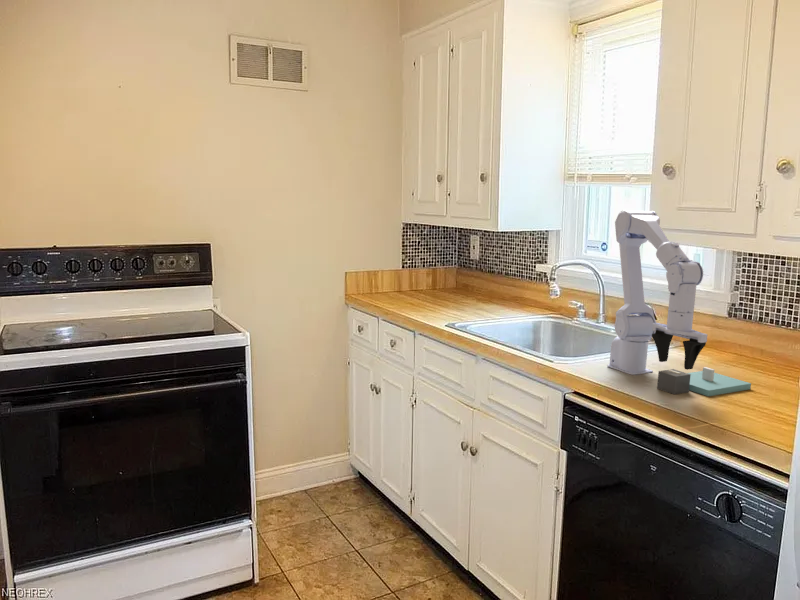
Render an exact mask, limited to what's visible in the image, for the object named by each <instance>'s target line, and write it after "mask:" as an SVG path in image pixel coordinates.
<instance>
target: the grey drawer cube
mask: <svg viewBox="0 0 800 600" xmlns="http://www.w3.org/2000/svg"><path fill="white" fill-rule="evenodd" d="M688 373H689V372H684V371H680V370H678V369H674V368H672V369H664V370H658V374H657V375H658V376H657V385H656V389H658V390H661V391H663V392H666V393H669V394H672V395H677V394H684V393H689V391H690V390H689V385H690V375H691V374H688Z"/></svg>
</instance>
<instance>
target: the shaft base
mask: <svg viewBox="0 0 800 600" xmlns="http://www.w3.org/2000/svg"><path fill="white" fill-rule="evenodd" d="M687 373H688V374H691V375H690V385H689V391H691V392H694V393H696V394H699V395H702V396H706V397H712V396H713V397H714V396H718V395H724V394H725V395H726V394H730V393H735V392H741V391H747V390H751V389H752V388H751V387H752V383H751V382H747V381H744V380H741V379H737V378H734V377H730V376H727V375H724V374H720V373H717V372H715V369H713V368H710V367H707V366H703V368H702V370H700V371H692V372H687Z"/></svg>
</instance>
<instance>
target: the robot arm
mask: <svg viewBox="0 0 800 600" xmlns="http://www.w3.org/2000/svg"><path fill="white" fill-rule="evenodd" d="M660 218H661V217H660V216H659V215H658V213H657V212H656V211H654V210H649V211H648V210H626V209H622V210H621V211H620V212H619V213H618V215H617V216H616V218H615V221H614V227H615V238H616V242H617V243H618V246H619V255H620V257H619V259H620V268H621V278H622V291H623V302H624V305H622V306H621V307H620V308H619V309H617V311H616V312H615V322H614V330H615V334H616V337H614V339H613V340H612V341H611V343H610V344H611V345H610V351H609V352H610V355H609V363H608V364H607V365H606V366H607V367H608V368H611V369H613V370H617V371H620V372H623V373H625V374H628V375H631V376H636V375H641V374H642V375H643V374H648V373H650V374H651V373H653V370H652V369H650V368H647V359H648V348H649V342H650V341H652V340H653V342H654V344H655V347H656V351H657V356H658V357H657V358H658V361H659V362H660V363H663V362H664V363H665V362H668V358H669V352H670V346H671V343H672V339H673V337H674V336H675V337H679V338H682V339H683V338H684V339H686V340H682V345H683V349H684V350H683V351H684V361H683V362H684V363H683V364H684V366H683V367H684V370H693V368H694V365H695V364H696V361H697V358H698V356H699V355H700V353H701V351H702V350H703V349H704V347H705V346H706V345H707V342H708V333H703V332H701V331H698V330H695V329H693V321H694V320H693V319H694V312H695V303H696V302H695V301H696V293H697V286H698V285H700V284H701V283H702V281H703V279H704V269H703V267H702V265H701V263H700V262H699V261H693V260H692V259H690V258H689V257H688V256H687V255H686V254H685V252H684V251H683V249H682V248H681V247H680V244H679V243H678V242H676V241H669V239H668V237H667V236H666V233H665V232H664V231H663V229H662V227H661V226H660V223H661V219H660ZM648 241H649V242H650V243H651V245H652V246H653V247H654V248H655V249H656V251H655V252H656V253H655V256H656V259H657V260H658V261H659V262H660V263H661V265H662V266H663V268H664V269H665V270H666V274H665V275H666V280H667V284H668V285H667V289H668V292H669V298H668V309H667V320H666V324H665V323H660V322H657V320H656V318H655V314H654V310H653V308H651V307H650V306H649V305H648V304H646V302H645V293H644V281H643V272H642V271H643V270H642V260H641V249H640V247H641V246H642V244H643V245H644V244H646V243H647V242H648Z"/></svg>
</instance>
